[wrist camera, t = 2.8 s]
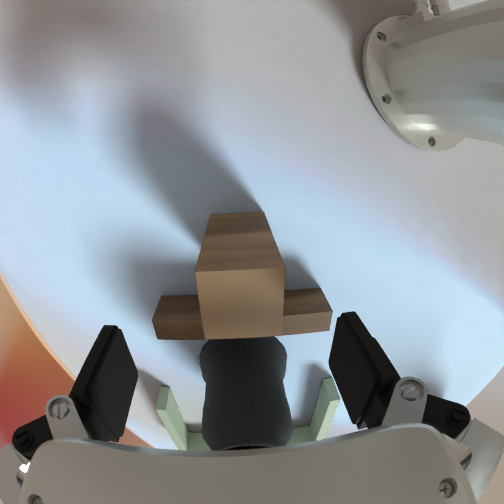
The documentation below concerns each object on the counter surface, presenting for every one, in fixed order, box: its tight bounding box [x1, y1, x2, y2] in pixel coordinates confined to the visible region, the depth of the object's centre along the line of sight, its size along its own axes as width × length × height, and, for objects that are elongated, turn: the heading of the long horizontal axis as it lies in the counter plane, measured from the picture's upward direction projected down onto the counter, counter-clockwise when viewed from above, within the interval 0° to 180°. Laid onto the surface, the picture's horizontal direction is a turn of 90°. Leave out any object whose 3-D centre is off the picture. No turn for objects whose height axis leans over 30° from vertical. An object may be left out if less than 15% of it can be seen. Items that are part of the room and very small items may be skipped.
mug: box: [199, 336, 294, 451], centre depth 22 cm, size 12×9×11 cm
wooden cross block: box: [152, 212, 333, 340], centre depth 18 cm, size 9×14×9 cm, turn 91°
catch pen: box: [155, 377, 340, 451], centre depth 29 cm, size 13×20×4 cm, turn 91°
